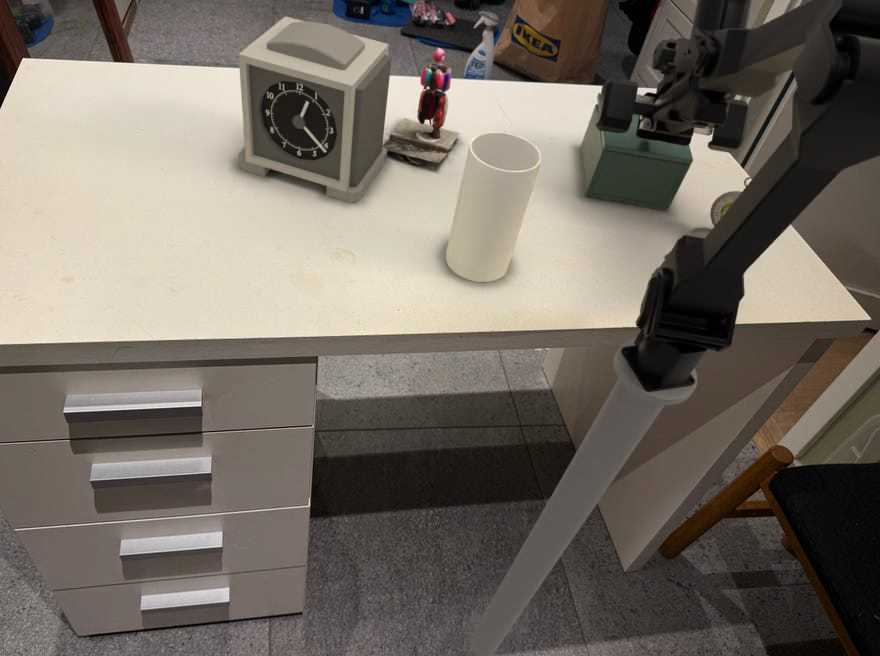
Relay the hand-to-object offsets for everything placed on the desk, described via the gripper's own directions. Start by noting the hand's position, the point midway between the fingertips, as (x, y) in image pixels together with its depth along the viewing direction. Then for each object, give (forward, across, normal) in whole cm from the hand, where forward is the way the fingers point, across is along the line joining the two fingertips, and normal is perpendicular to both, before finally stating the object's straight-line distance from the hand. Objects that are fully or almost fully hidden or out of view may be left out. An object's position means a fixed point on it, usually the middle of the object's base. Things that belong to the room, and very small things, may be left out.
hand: (647, 134), depth 94 cm
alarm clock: (+2, +47, +12) cm, 48 cm away
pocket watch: (0, -12, +14) cm, 19 cm away
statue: (+8, +32, +5) cm, 33 cm away
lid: (+3, 0, -2) cm, 4 cm away
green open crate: (+9, 0, +4) cm, 10 cm away
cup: (-9, +22, +23) cm, 33 cm away
